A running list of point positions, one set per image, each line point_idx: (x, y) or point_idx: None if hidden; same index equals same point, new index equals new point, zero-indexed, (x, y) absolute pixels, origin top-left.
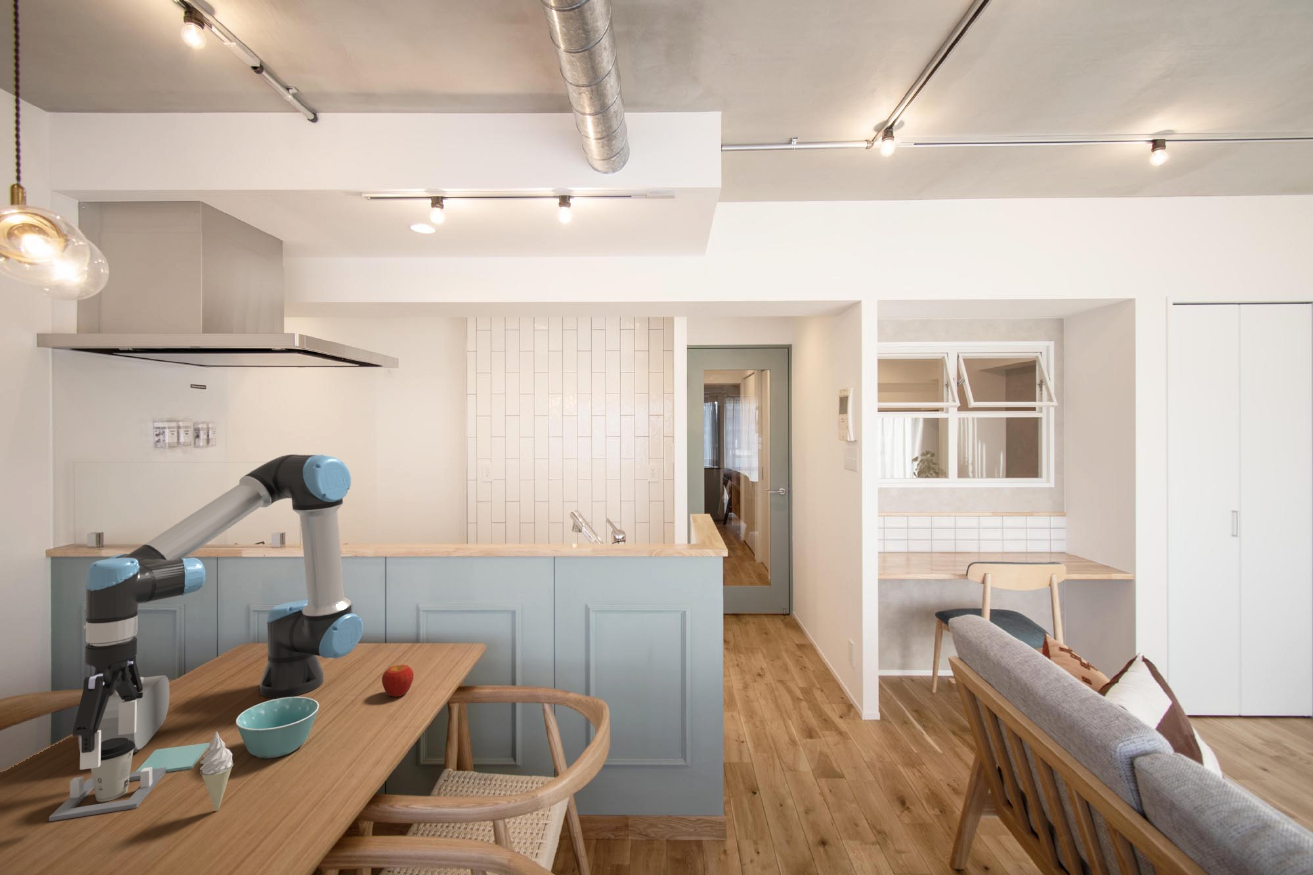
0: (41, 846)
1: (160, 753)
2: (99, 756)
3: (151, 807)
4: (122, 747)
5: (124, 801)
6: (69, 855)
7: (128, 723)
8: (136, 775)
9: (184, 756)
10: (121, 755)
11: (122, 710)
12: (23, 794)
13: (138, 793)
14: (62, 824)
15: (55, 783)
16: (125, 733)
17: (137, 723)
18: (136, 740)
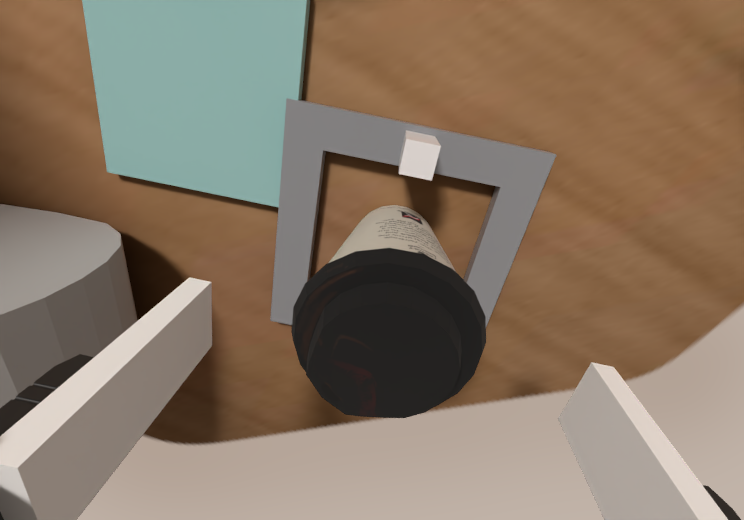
0: (606, 343)
1: (144, 148)
2: (635, 408)
3: (585, 98)
4: (438, 310)
5: (505, 198)
6: (729, 277)
7: (176, 347)
8: (312, 197)
9: (197, 41)
10: (474, 291)
11: (107, 458)
12: (282, 418)
13: (470, 163)
14: (509, 324)
15: (249, 377)
16: (209, 320)
17: (22, 281)
18: (99, 249)
